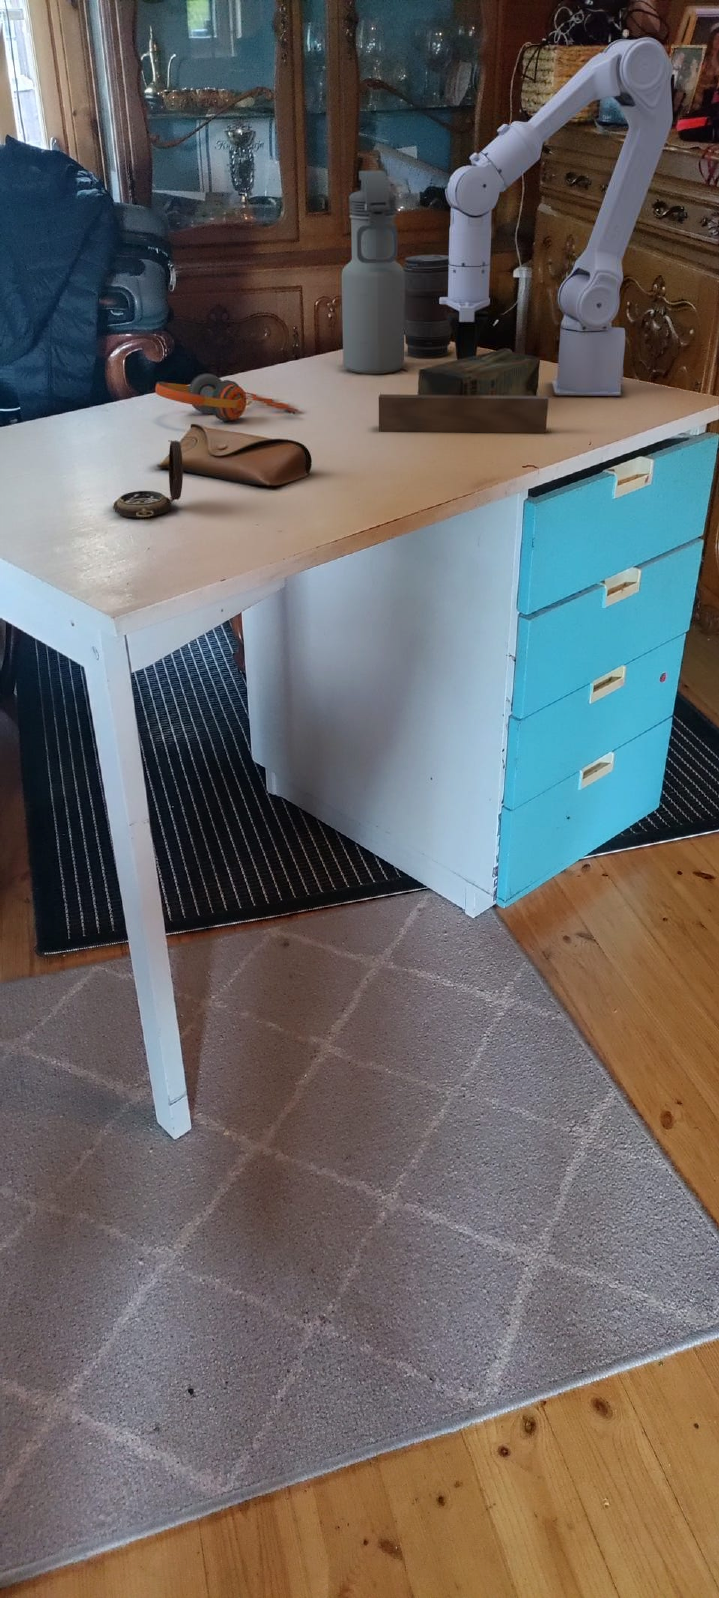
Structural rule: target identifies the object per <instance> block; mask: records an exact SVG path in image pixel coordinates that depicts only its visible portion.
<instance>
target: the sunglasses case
mask: <svg viewBox="0 0 719 1598" xmlns="http://www.w3.org/2000/svg"><path fill="white" fill-rule="evenodd" d="M178 442H179V443H180V446H181V452H182V461H183V472H186V473H191V474H196V475H202V476H206V477H210V478H216V479H220V480H224V481H228V482H233V483H239V484H245V485H258V486H259V485H260V486H267V487H270V486H271V487H277V486H283V485H287V484H291V483H293V482H296V481H298V480H301V479H304V478H305V477H308V475H309V474H310V472H311V469H312V462H313V461H312V460H313V459H312V455H311V452H310V450H309V449H308V447H307V446H306V445H304V444H303V443H301V442H299V441H296V440H293V439H288V438H271V437H270V438H269V437H266V436H259V435H254V434H249V433H245V432H244V433H243V432H239V431H230V430H224V429H218V428H210V427H207V426H203V425H201V424H198V423H191V424H190V429H189V430H188V431H187V432H186V433H185V434H184V436H183V437H181V439H180V440H179V441H178ZM156 467H157V468H163V469H169V453H168V454H167V456H165V458H164V459H163V461H162V462H160V463H157V464H156Z"/></svg>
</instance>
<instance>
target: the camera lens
mask: <svg viewBox="0 0 719 1598" xmlns="http://www.w3.org/2000/svg"><path fill="white" fill-rule="evenodd" d="M403 270H404V275H405V300H404V344H406V346H407V354H408V356H411V357H414V358H423V359H434V358H441V357H445V356H447V355H448V349H449V345H450V344H451V340H452V339H451V338H452V333H453V332H452V330H451V327H450V325H449V322H448V320H447V316H448V314H449V313H454V308H452V307H450V306H448V305H446V304H439V299H440V297H448V274H449V273H448V272H449V255H447V254H446V255H445V254H422V255H421V254H420V255H419V254H418V255H412V256H408V257H405V259H404V267H403Z"/></svg>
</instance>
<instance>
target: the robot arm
mask: <svg viewBox="0 0 719 1598" xmlns="http://www.w3.org/2000/svg"><path fill="white" fill-rule="evenodd" d="M673 72H674V66H673V64H672V61H671V60H670V58H669V55H668V54H667V51H666V49H665V47H664V45H663V44H662V43H661V42H660V41H658V40H657V39H655V38H653V37H640V38H637V39H626V38H621V39H616V40H614V41H613V42H611V43H609V44H608V46H606V47H605V49H604V50H603V51H602V52H599V53H597V54H596V55H595V56H592V57H591V58H590V59H589V60H588V61H587V62H586V63H585V64H584V66H582V67H581V68H580V69H579V70H578V71H577V72H576V73H575V74H574V75H573V76H572V77H571V78H570V79H569V80H567V82H566V83H565V84H564V85H563V86H562V87H561V88H560V89H559V90H558V91H557V92H556V93H555V94H554V95H553V96H552V97H551V98H550V99H549V100H548V101H547V102H546V103H545V104H544V105H543V106H542V107H541V108H540V109H539V110H538V111H537V112H536V113H535V114H534V115H533V116H532V117H531V118H530V119H529V120H528V121H518V120H514V121H513V122H511V123H510V124H506V123H503V124H502V125H501V126H499V128H497V130H496V132H497V133H498V135H497V136H496V137H495V138H494V139H493V140H492V141H491V142H490V143H489V144H488V145H487V146H485V147H484V148H483V149H482V150H481V151H480V152H478V153H477V152H474V153H472V154H471V155H470V156H469V160H470V163H471V165H465V166H463V165H462V166H461V167H459V168H457V169H456V170H455V171H454V172H453V173H452V174H451V176H450V178H449V179H448V180H449V181H448V183H447V187H446V188H445V190H444V191H445V192H444V193H445V194H444V195H445V199H446V201H447V203H448V205H449V206H450V216H449V217H450V226H449V232H448V233H449V235H448V236H449V237H448V239H449V240H448V256H449V272H448V273H449V274H448V297H440V299H439V304H446V305H448V306H450V307H452V308H453V310H456V311H458V312H452V313H449V314H448V316H447V320H448V322H449V325H450V327H451V330H452V332H451V333H452V336H453V341H454V346H455V347H454V348H455V355H456V360H460V359H464V358H468V357H473V356H477V351H478V347H479V346H478V345H479V342H480V337H481V335H482V332H483V329H484V327H485V325H486V323H487V322H488V315H489V314H488V311H485V310H481V309H484V308H486V307H488V306H489V305H490V304H491V297H489V296H490V275H491V274H490V272H491V249H492V248H491V246H492V210H494V208H495V207H496V205H497V203H498V201H499V198H500V197H499V196H500V193H503V192H505V191H506V190H507V189H508V188H510V186H511V185H513V184H514V183H515V182H516V181H517V180H518V179H519V178H520V177H521V176H522V175H524V174H525V173H526V171H528V170H529V169H530V168H531V167H532V166H533V165H534V164H536V163H537V162H538V161H539V160H540V159H541V155H542V149H543V144H544V142H546V141H547V140H548V139H549V138H550V137H551V136H553V135H554V134H556V132H558V131H559V130H560V129H561V128H562V127H564V126H565V125H566V124H567V123H569V121H571V120H572V119H573V118H574V117H575V116H577V115H578V114H579V113H580V112H582V111H583V110H584V109H585V108H586V107H587V106H588V105H590V104H591V103H592V102H594V101H598V100H604V99H609V98H613V100H614V101H615V102H617V104H618V105H619V107H620V109H621V111H622V114H623V116H624V118H625V121H626V123H627V125H628V130H627V133H626V136H625V139H624V142H623V145H622V147H621V150H620V153H619V156H618V159H617V161H616V163H615V167H614V170H613V171H612V175H611V178H610V181H609V184H608V186H607V189H606V192H605V195H604V198H603V201H602V203H601V206H600V208H599V212H598V216H597V218H596V220H595V223H594V225H593V228H592V231H591V235H590V237H589V240H588V243H587V245H586V248H585V250H584V251H583V252H582V253H581V254H580V256H579V257H578V258H577V259H576V261H574V265H573V268H572V270H571V272H570V274H569V275H568V276H567V277H566V278H565V279H564V280H563V281H562V282H561V284H560V286H559V289H558V293H557V303H558V307H559V309H560V311H561V312H562V314H563V318H562V320H561V322H560V330H559V331H560V332H559V346H558V361H557V373H556V374H557V375H556V379H555V380H552V389H553V395H555V396H589V397H591V396H597V397H599V396H602V397H604V396H605V397H606V396H607V397H620V396H621V395H622V392H621V390H622V382H623V379H624V359H625V350H626V349H625V348H626V330H625V328H624V327H617V326H612V323H613V322H612V321H613V320H614V319H615V318H616V317H617V314H618V312H619V309H620V305H621V303H620V302H621V300H620V291H621V290H620V288H621V286H622V283H623V280H624V273H623V263H622V261H623V258H624V255H625V252H626V250H627V248H628V244H629V242H630V240H631V237H632V234H633V231H634V229H635V227H636V223H637V221H638V217H639V215H640V212H641V210H642V207H643V205H644V201H645V200H646V199H645V198H646V196H647V193H648V191H649V188H650V185H651V183H652V180H653V177H654V174H655V171H656V169H657V166H658V163H659V161H660V158H661V155H662V153H663V150H664V148H665V144H666V142H667V139H668V136H669V134H670V131H671V128H672V125H673V119H674V117H673V115H674V114H673V101H672V100H673V99H672V85H671V82H672V81H671V79H672V76H673Z"/></svg>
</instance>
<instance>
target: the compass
mask: <svg viewBox="0 0 719 1598" xmlns="http://www.w3.org/2000/svg"><path fill="white" fill-rule="evenodd" d="M169 442H170V443H169V451H168V454H169V468H168V483H169V485H168V486H169V487H168V488H169V496H170V497H168V496H166V495H164V494H163V493H161V492H159V491H155V490H137V491H131V492H130V491H129V492H126V493H124V494H122V495H120V496H119V497H118V499H117V500H116V501H114V503H113V505H112V509H113V510H114V512H115V513H116V514H118V515H119V516H123V517H126V518H150V517H156V516H159V515H162V514H165V513H167V512H168V511H169V510H170V509H171V507H172V503H173V502H174V501H175V500H180V498H181V496H182V489H183V479H184V471H183V461H182V452H181V446H180V443H179V442H180V441H179V440H176V439H175V440H169Z"/></svg>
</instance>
